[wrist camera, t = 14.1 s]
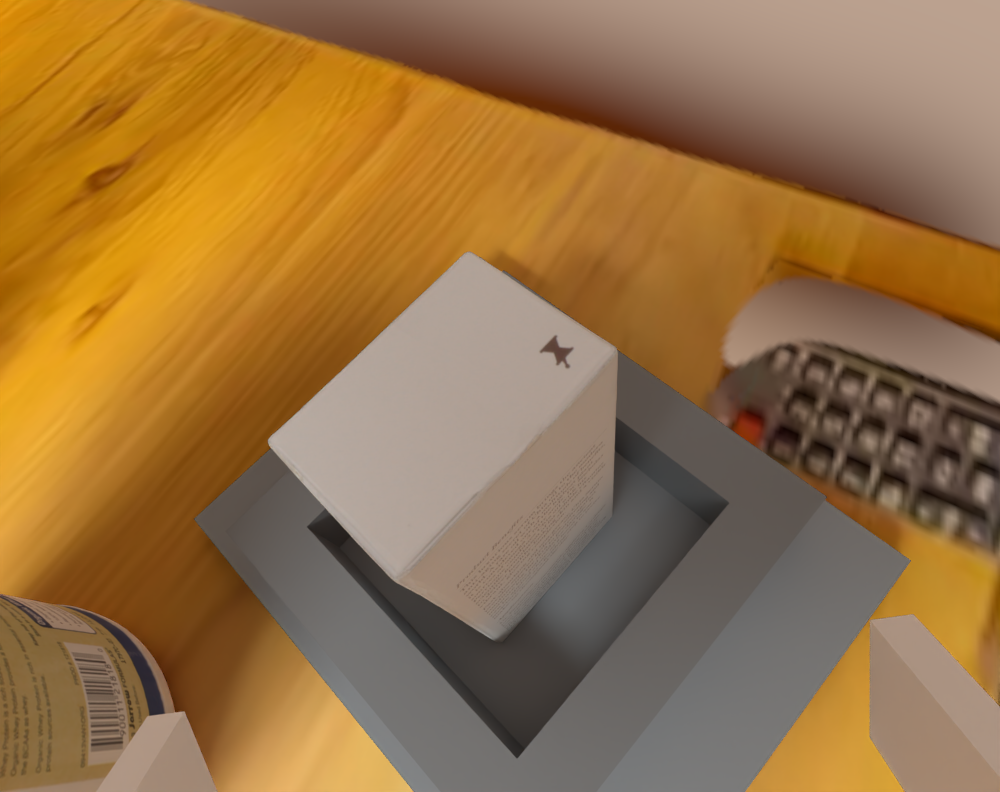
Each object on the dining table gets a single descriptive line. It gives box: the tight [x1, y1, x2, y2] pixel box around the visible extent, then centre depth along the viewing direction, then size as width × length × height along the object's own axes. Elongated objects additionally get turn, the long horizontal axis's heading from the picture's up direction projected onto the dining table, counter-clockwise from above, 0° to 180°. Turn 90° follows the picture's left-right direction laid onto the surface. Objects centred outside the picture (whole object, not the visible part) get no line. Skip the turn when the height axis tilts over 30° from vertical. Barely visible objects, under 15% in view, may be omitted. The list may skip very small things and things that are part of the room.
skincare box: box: [268, 252, 618, 643], centre depth 18 cm, size 6×4×12 cm
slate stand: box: [194, 257, 911, 792], centre depth 22 cm, size 20×16×4 cm
